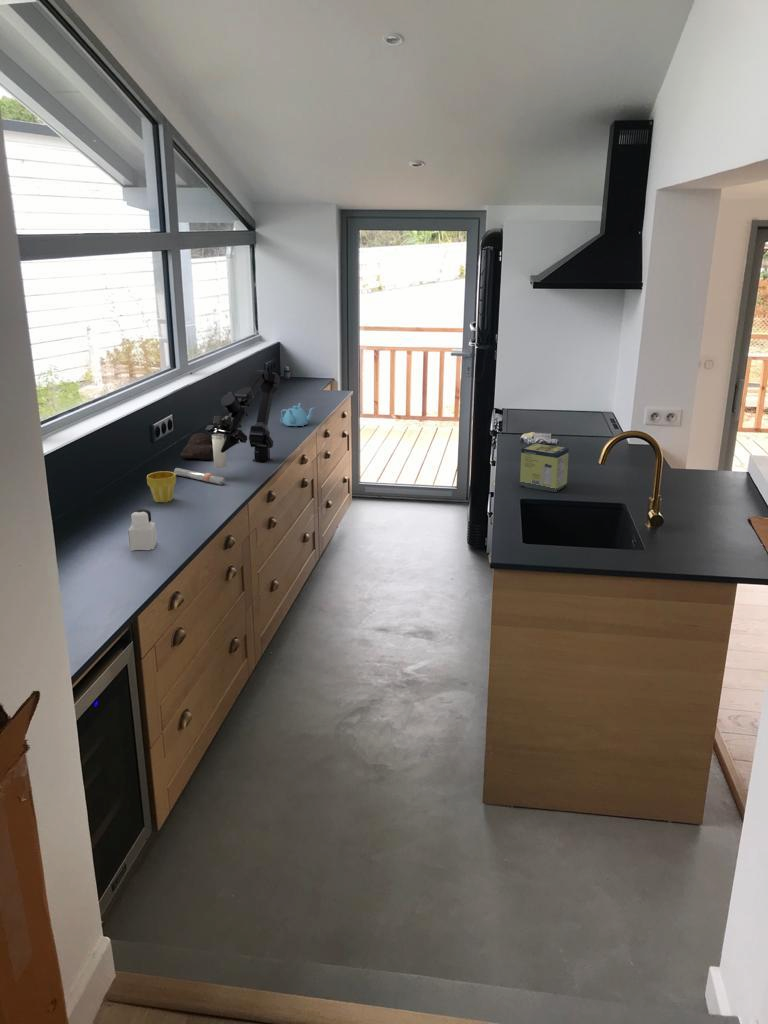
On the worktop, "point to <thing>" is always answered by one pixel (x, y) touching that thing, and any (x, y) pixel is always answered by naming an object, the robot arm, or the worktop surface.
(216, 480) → the grey steel rod
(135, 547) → the medicine bottle
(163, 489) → the plant pot
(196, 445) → the dark brown lump
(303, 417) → the teapot
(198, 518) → the worktop surface
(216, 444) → the white grey cylinder
